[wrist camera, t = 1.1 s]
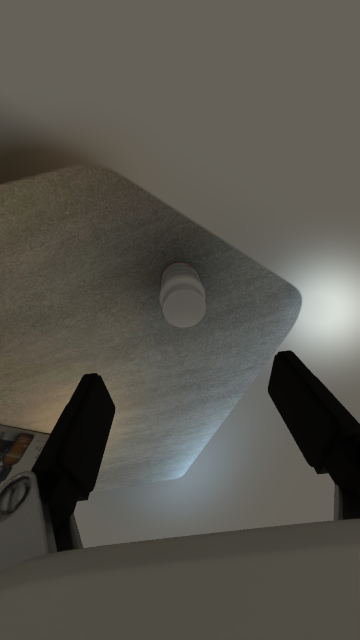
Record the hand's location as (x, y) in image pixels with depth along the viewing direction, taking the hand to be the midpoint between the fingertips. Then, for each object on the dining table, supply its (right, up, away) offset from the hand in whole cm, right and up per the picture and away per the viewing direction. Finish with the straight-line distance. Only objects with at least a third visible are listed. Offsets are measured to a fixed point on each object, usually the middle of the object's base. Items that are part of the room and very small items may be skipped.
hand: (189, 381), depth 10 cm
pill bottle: (-1, +9, +14) cm, 16 cm away
